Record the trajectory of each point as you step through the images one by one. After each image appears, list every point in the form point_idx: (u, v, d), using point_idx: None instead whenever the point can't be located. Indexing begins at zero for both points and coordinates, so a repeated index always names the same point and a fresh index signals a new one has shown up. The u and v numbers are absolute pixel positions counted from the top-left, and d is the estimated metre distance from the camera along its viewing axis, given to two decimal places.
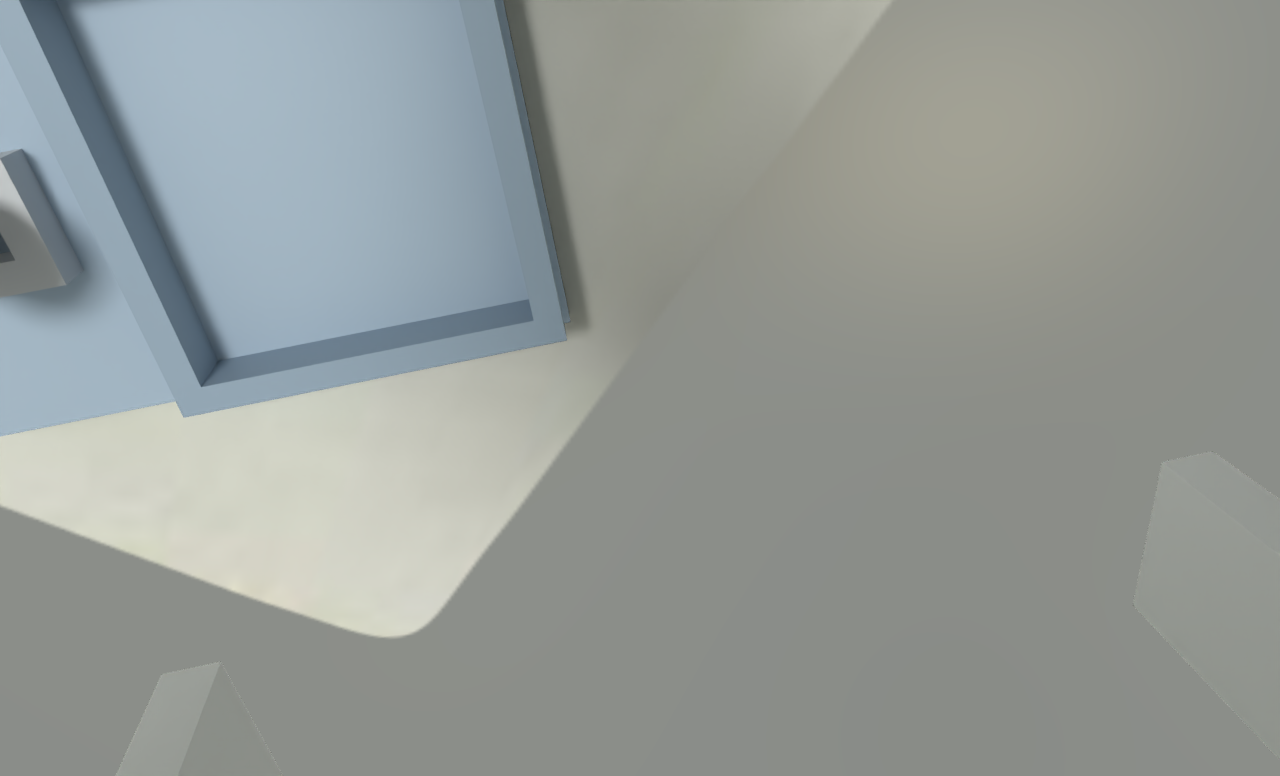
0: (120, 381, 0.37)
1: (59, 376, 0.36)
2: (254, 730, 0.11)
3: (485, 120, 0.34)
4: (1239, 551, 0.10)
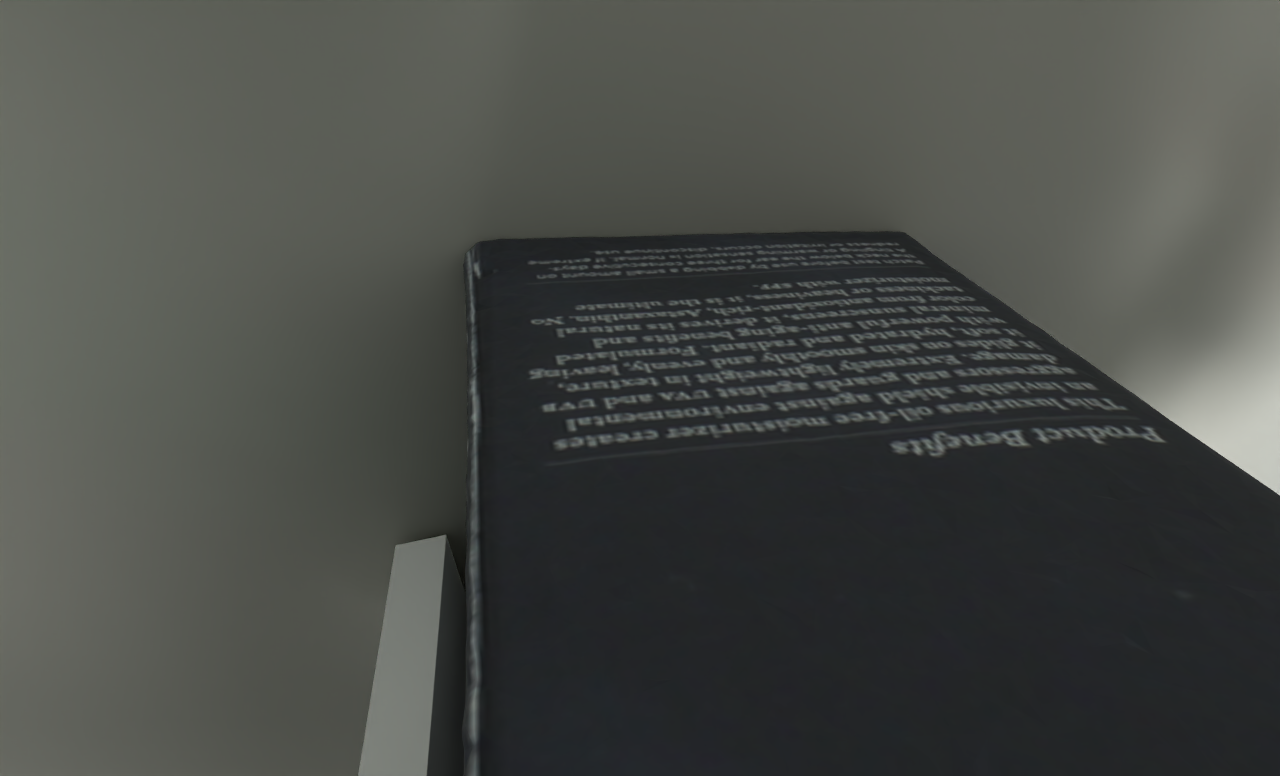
0: None
1: None
2: (464, 601, 0.13)
3: None
4: None
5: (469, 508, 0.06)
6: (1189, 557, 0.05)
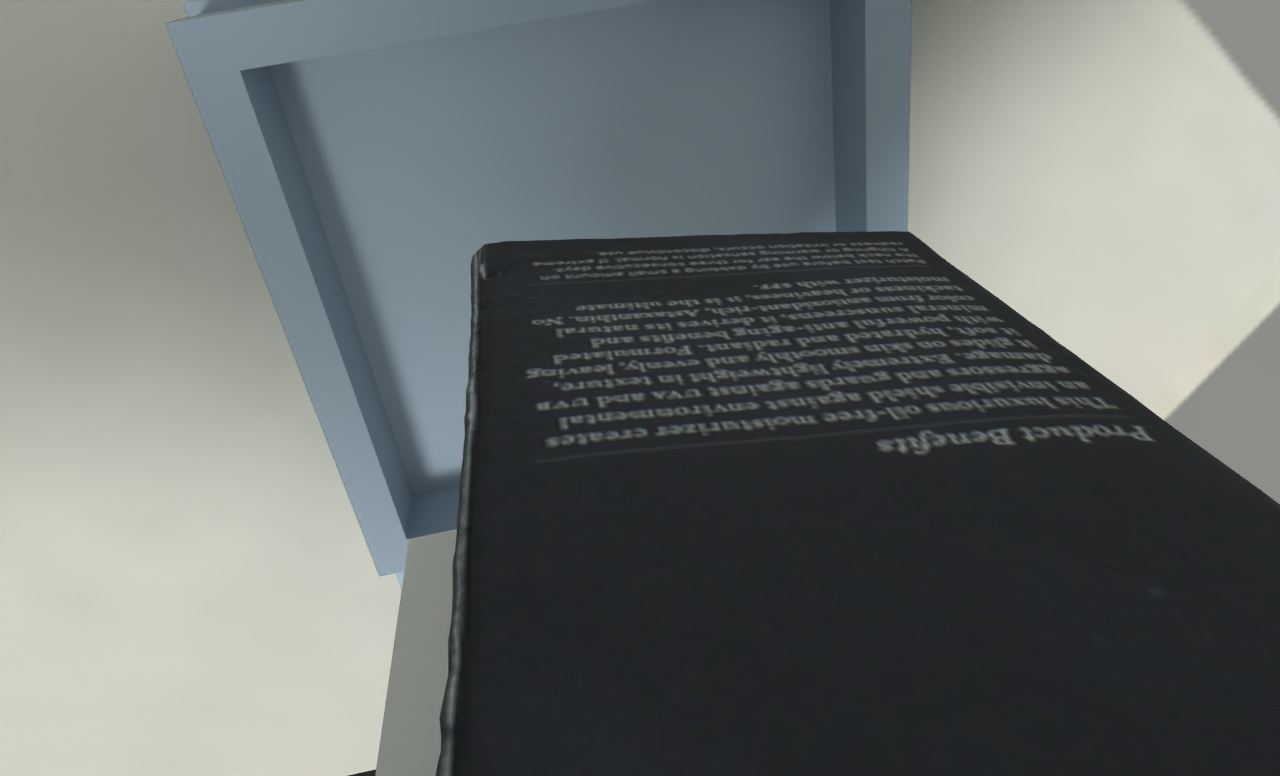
0: None
1: None
2: None
3: None
4: None
5: (460, 503, 0.06)
6: (1167, 553, 0.05)
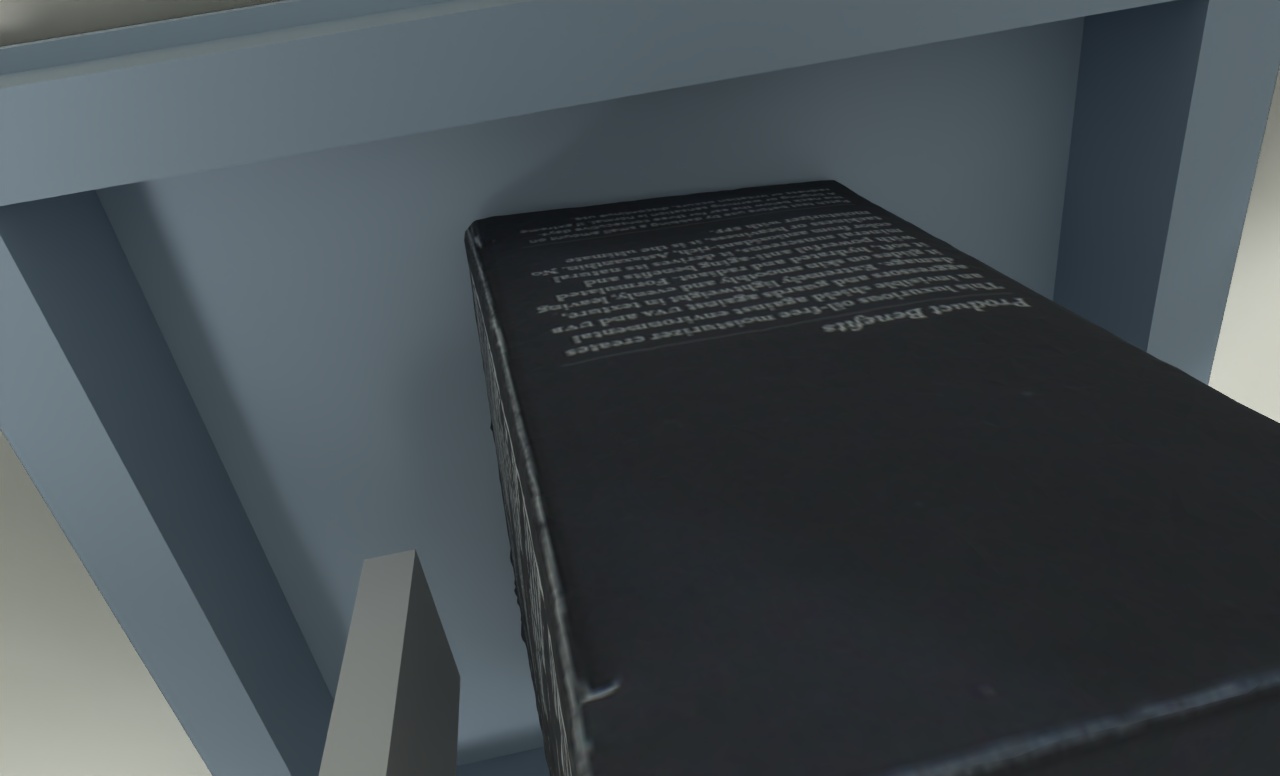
0: None
1: None
2: (435, 615, 0.13)
3: None
4: None
5: (509, 399, 0.08)
6: (1035, 372, 0.07)
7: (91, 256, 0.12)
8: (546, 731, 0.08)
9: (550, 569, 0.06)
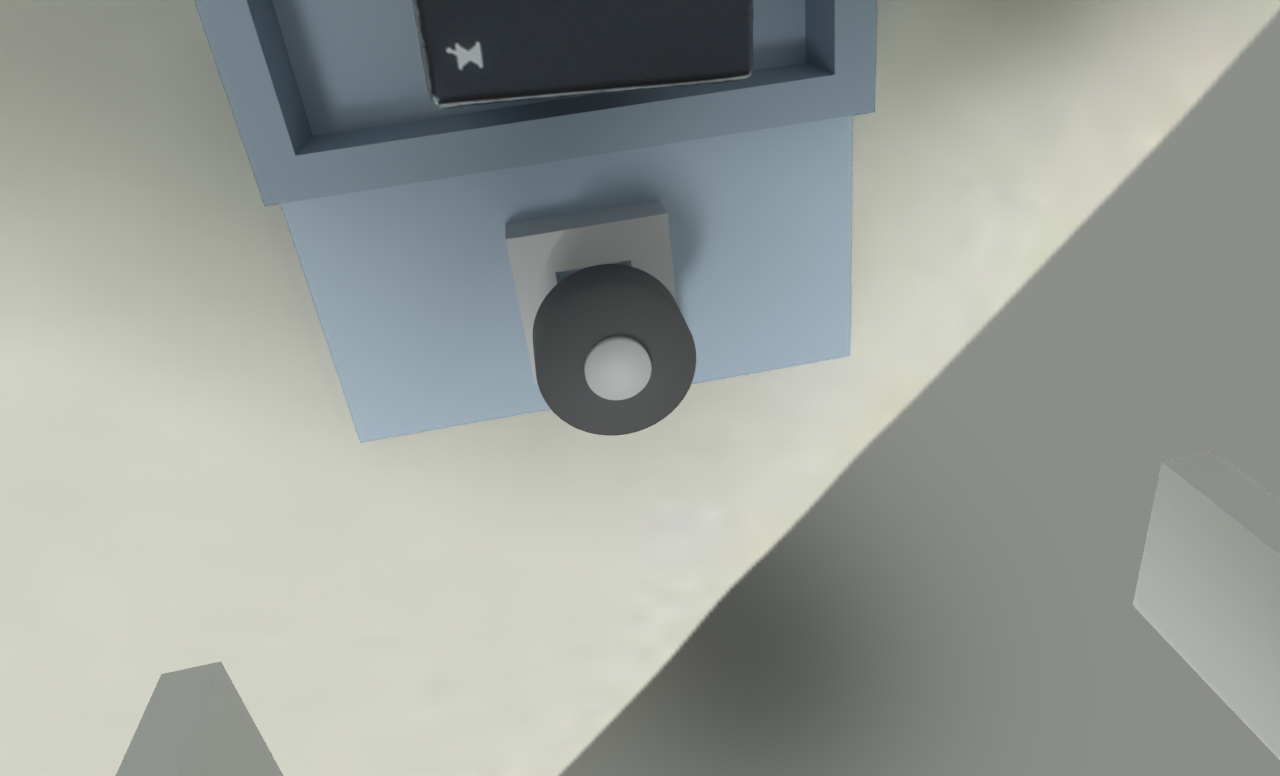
0: (810, 198, 0.28)
1: (789, 265, 0.29)
2: (254, 731, 0.11)
3: None
4: (1240, 551, 0.10)
5: None
6: None
7: None
8: None
9: None
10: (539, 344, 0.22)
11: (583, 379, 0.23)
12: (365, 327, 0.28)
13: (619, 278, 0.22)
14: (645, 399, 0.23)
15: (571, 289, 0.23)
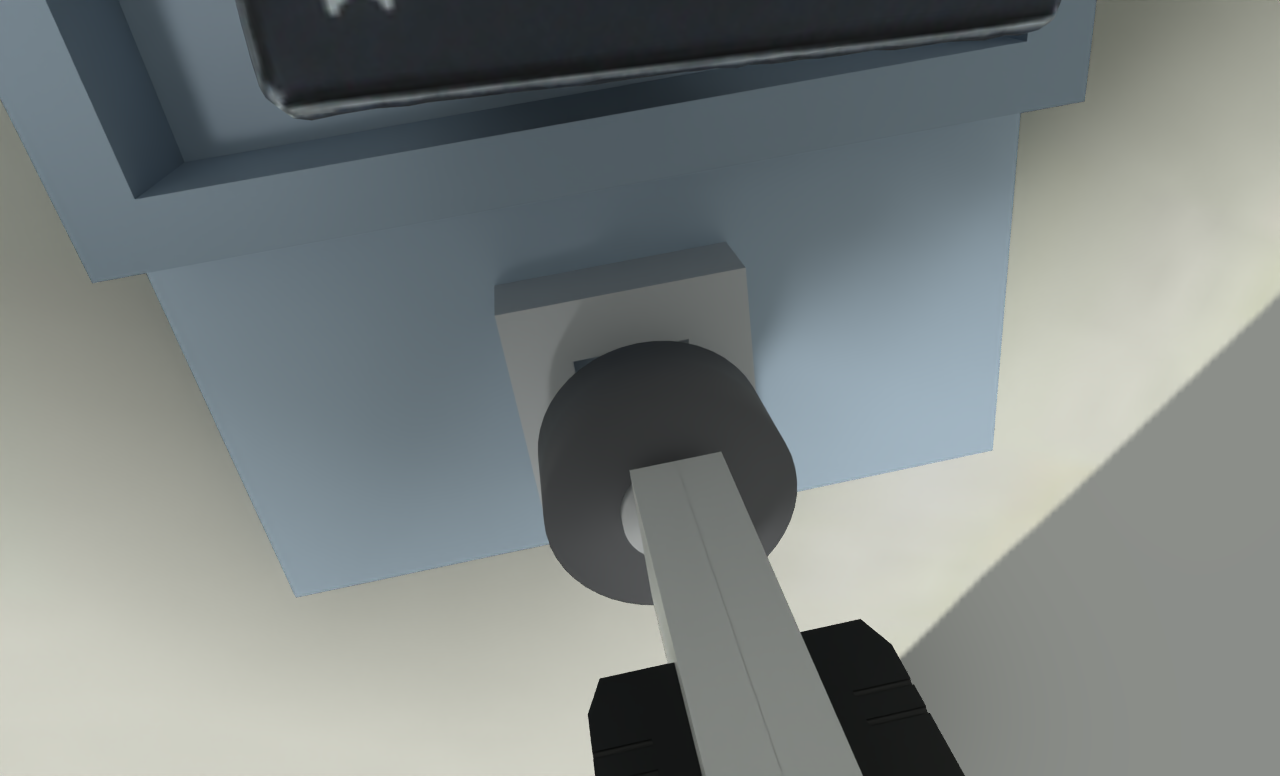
0: (950, 232, 0.19)
1: (914, 330, 0.20)
2: None
3: None
4: None
5: None
6: None
7: None
8: None
9: None
10: (549, 481, 0.14)
11: (620, 529, 0.14)
12: (291, 442, 0.19)
13: (675, 370, 0.14)
14: None
15: (598, 389, 0.14)
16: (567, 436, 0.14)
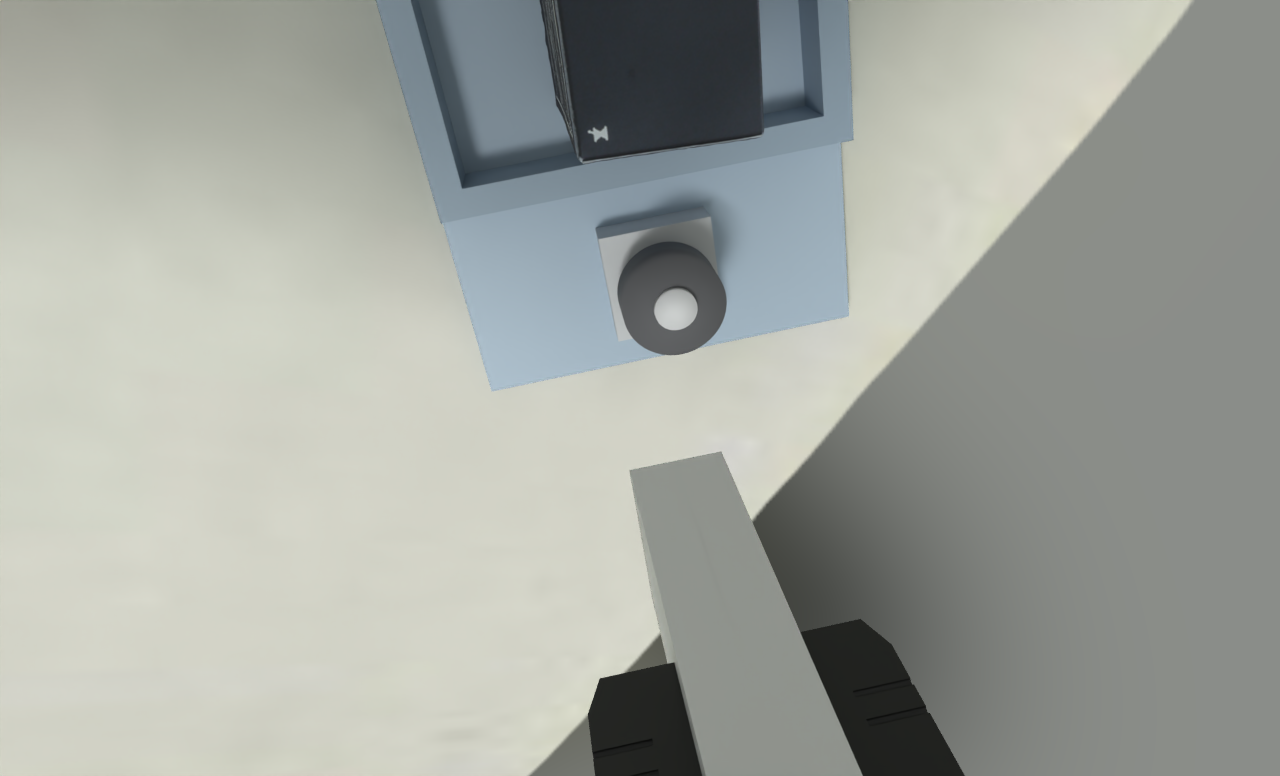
0: (812, 200, 0.39)
1: (799, 250, 0.40)
2: None
3: None
4: None
5: None
6: None
7: None
8: None
9: None
10: (625, 294, 0.34)
11: (653, 317, 0.35)
12: (497, 306, 0.39)
13: (675, 250, 0.35)
14: (694, 329, 0.36)
15: (644, 258, 0.35)
16: (632, 276, 0.34)
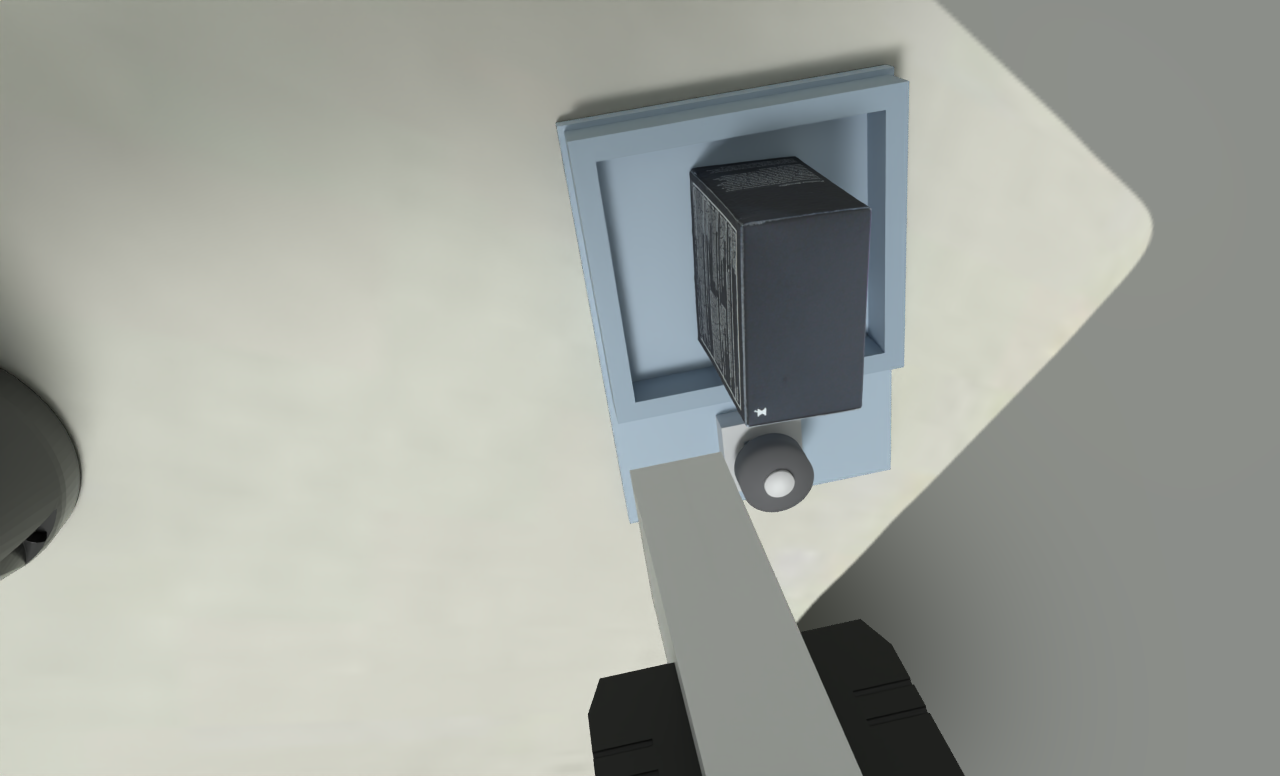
0: (869, 394, 0.54)
1: (858, 426, 0.55)
2: None
3: None
4: None
5: (716, 198, 0.40)
6: (815, 190, 0.39)
7: None
8: (721, 267, 0.41)
9: (729, 212, 0.38)
10: (745, 474, 0.49)
11: (763, 488, 0.50)
12: (641, 467, 0.54)
13: (779, 443, 0.50)
14: (790, 495, 0.51)
15: (757, 448, 0.50)
16: (750, 462, 0.49)
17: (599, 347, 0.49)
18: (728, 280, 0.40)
